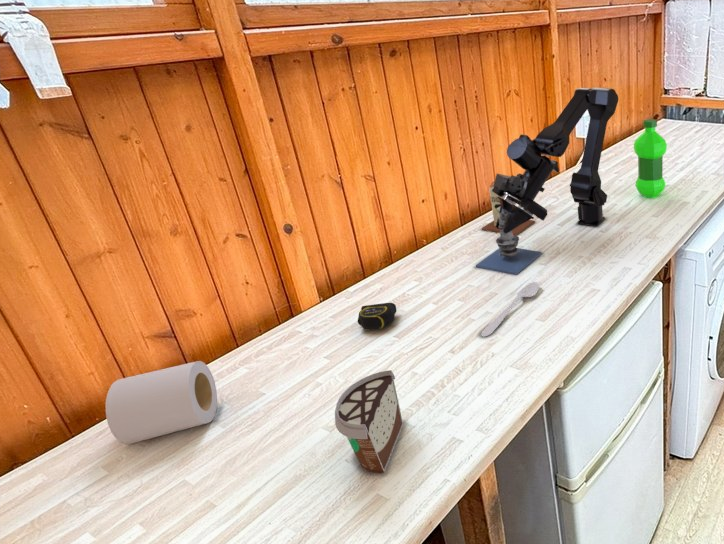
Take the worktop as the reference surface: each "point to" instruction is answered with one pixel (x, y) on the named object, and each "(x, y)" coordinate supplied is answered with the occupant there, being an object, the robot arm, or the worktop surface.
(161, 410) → the toilet paper
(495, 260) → the blue mat
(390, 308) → the tape measure
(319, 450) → the worktop surface
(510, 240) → the grey chess piece
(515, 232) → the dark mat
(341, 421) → the food container
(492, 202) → the shoe polish box
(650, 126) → the plastic bottle
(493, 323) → the spoon
